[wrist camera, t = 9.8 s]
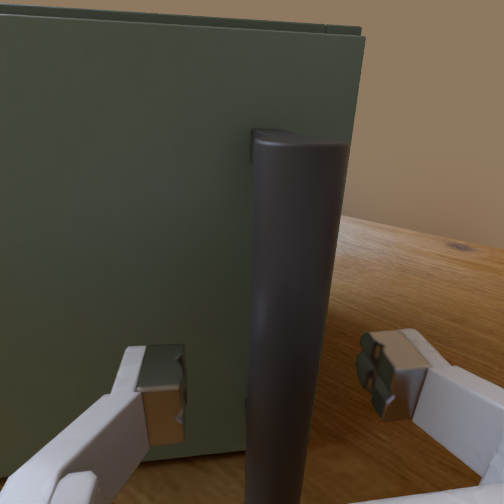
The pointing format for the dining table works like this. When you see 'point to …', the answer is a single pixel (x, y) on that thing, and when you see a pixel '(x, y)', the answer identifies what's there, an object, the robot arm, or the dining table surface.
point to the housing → (176, 19)
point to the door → (171, 226)
